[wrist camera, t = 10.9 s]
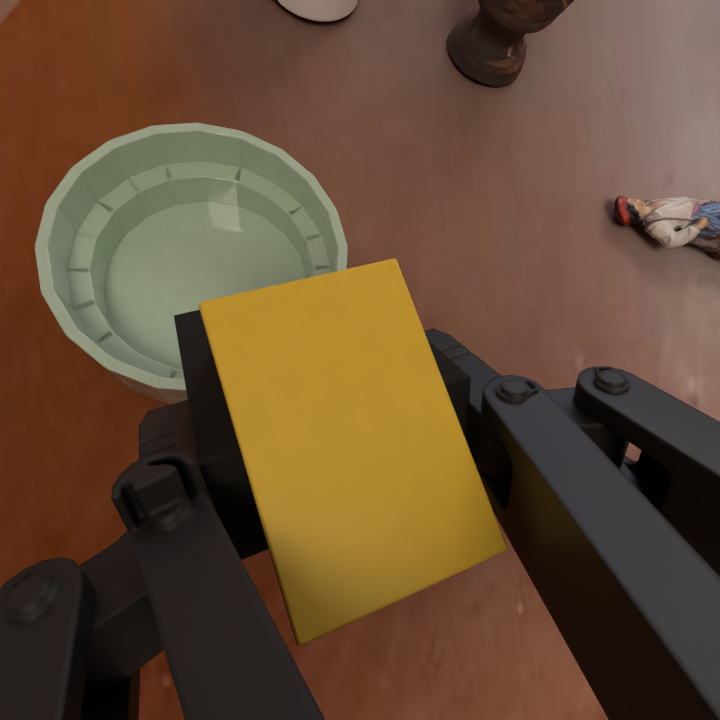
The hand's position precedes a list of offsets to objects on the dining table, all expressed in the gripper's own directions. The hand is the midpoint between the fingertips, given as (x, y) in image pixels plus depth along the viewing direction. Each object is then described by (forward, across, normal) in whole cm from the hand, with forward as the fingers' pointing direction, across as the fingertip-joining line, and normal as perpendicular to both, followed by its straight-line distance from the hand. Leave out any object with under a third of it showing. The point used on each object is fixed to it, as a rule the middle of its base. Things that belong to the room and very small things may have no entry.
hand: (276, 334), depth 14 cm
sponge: (0, 0, -5) cm, 5 cm away
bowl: (+18, -1, -5) cm, 19 cm away
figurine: (+15, +41, -8) cm, 45 cm away
